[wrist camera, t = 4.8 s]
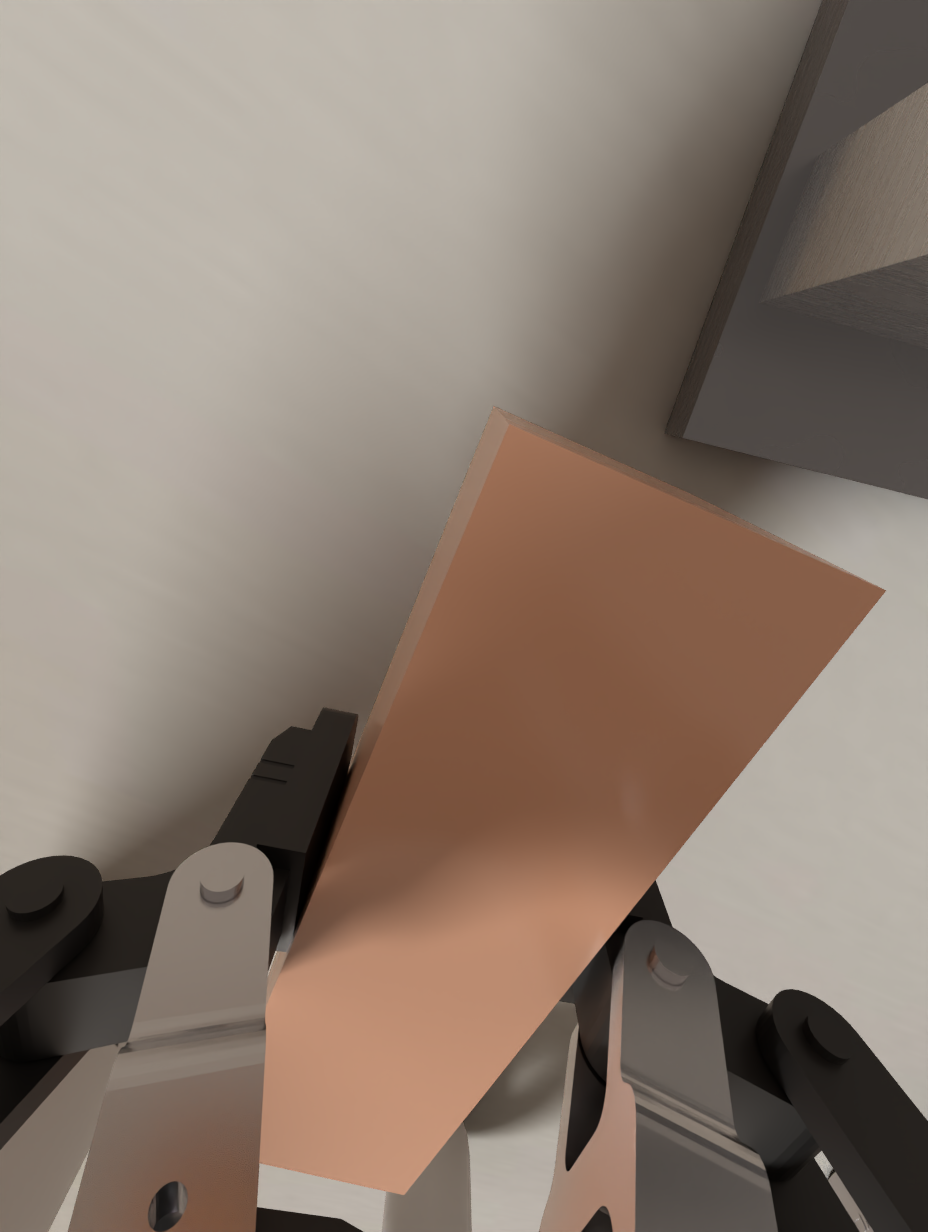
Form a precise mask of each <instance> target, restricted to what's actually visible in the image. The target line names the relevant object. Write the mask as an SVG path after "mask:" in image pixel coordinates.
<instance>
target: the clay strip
mask: <svg viewBox="0 0 928 1232" xmlns="http://www.w3.org/2000/svg"><path fill="white" fill-rule="evenodd" d="M885 591H886V590H884V589H882V588H880V587H878V586H876V585H874V584H872V583H870V582H868V581H866V580H864V579H862V578H860V577H858V576H856V575H854V574H852V573H850V572H848V571H846V570H844V569H842V568H840V567H838V566H836V565H834V564H832V563H830V562H828V561H826V560H824V559H822V558H820V557H818V556H815V555H813V554H811V553H809V552H807V551H805V550H803V549H801V548H799V547H797V546H795V545H793V544H791V543H789V542H787V541H785V540H783V539H781V538H779V537H777V536H775V535H773V534H771V533H769V532H767V531H765V530H763V529H761V528H759V527H757V526H755V525H753V524H751V523H749V522H747V521H745V520H743V519H741V518H739V517H737V516H735V515H733V514H731V513H729V512H727V511H725V510H723V509H721V508H719V507H717V506H715V505H713V504H711V503H709V502H707V501H705V500H703V499H701V498H699V497H696V496H694V495H692V494H690V493H688V492H686V491H684V490H681V489H679V488H677V487H675V486H672V485H670V484H668V483H666V482H663V481H661V480H659V479H657V478H654V477H652V476H650V475H648V474H645V473H643V472H641V471H639V470H636V469H634V468H632V467H630V466H627V465H625V464H623V463H621V462H618V461H616V460H614V459H612V458H609V457H607V456H605V455H603V454H600V453H598V452H596V451H594V450H591V449H589V448H587V447H585V446H582V445H580V444H578V443H576V442H573V441H571V440H569V439H567V438H564V437H562V436H560V435H558V434H555V433H553V432H551V431H549V430H546V429H544V428H542V427H540V426H538V425H535V424H533V423H531V422H529V421H526V420H524V419H522V418H520V417H517V416H515V415H513V414H511V413H508V412H506V411H504V410H502V409H499V408H497V407H495V406H493V409H492V411H491V414H490V416H489V419H488V421H487V424H486V426H485V429H484V431H483V434H482V436H481V439H480V441H479V444H478V446H477V449H476V451H475V454H474V456H473V459H472V461H471V464H470V466H469V469H468V471H467V474H466V476H465V479H464V481H463V484H462V486H461V489H460V491H459V494H458V496H457V499H456V501H455V504H454V506H453V509H452V511H451V514H450V516H449V519H448V521H447V524H446V526H445V529H444V531H443V534H442V536H441V539H440V541H439V544H438V546H437V549H436V551H435V554H434V556H433V558H432V561H431V563H430V566H429V568H428V571H427V573H426V576H425V578H424V581H423V583H422V586H421V588H420V591H419V593H418V596H417V598H416V601H415V603H414V606H413V608H412V611H411V613H410V616H409V618H408V621H407V623H406V626H405V628H404V631H403V633H402V636H401V638H400V641H399V643H398V646H397V648H396V651H395V653H394V656H393V658H392V661H391V663H390V666H389V668H388V671H387V673H386V676H385V678H384V681H383V683H382V686H381V688H380V691H379V693H378V696H377V698H376V701H375V703H374V706H373V708H372V711H371V713H370V716H369V718H368V721H367V723H366V726H365V728H364V731H363V733H362V736H361V738H360V741H359V743H358V746H357V748H356V751H355V753H354V756H353V758H352V761H351V763H350V766H349V771H348V775H347V778H346V781H345V784H344V787H343V790H342V793H341V796H340V799H339V802H338V805H337V808H336V811H335V813H334V816H333V819H332V822H331V825H330V828H329V831H328V834H327V837H326V840H325V843H324V846H323V849H322V852H321V855H320V858H319V861H318V864H317V867H316V870H315V873H314V876H313V879H312V882H311V885H310V888H309V891H308V894H307V896H306V899H305V902H304V905H303V908H302V911H301V914H300V917H299V920H298V923H297V926H296V929H295V932H294V935H293V938H292V940H291V942H290V945H289V947H288V950H287V952H281V951H277V953H276V955H275V958H274V961H273V964H272V967H271V969H270V972H269V975H268V978H267V994H266V1012H265V1024H266V1050H265V1069H264V1087H263V1105H262V1123H261V1141H260V1159H259V1163H261V1164H266V1165H270V1166H275V1167H279V1168H284V1169H288V1170H293V1171H297V1172H302V1173H306V1174H311V1175H315V1176H320V1177H324V1178H329V1179H333V1180H338V1181H342V1182H347V1183H351V1184H356V1185H360V1186H365V1187H369V1188H374V1189H378V1190H383V1191H387V1192H392V1193H396V1194H401V1195H405V1193H406V1192H407V1191H408V1190H409V1188H410V1187H411V1186H412V1185H413V1183H414V1182H415V1181H416V1180H417V1178H418V1177H419V1176H420V1175H421V1173H422V1172H423V1171H424V1170H425V1168H426V1167H427V1166H428V1165H429V1163H430V1162H431V1161H432V1160H433V1158H434V1157H435V1156H436V1155H437V1153H438V1152H439V1151H440V1149H441V1148H442V1147H443V1146H444V1144H445V1143H446V1142H447V1141H448V1139H449V1138H450V1137H451V1136H452V1134H453V1133H454V1132H455V1131H456V1129H457V1128H458V1127H459V1126H460V1124H461V1123H462V1122H463V1121H464V1119H465V1118H466V1117H467V1116H468V1114H469V1113H470V1112H471V1111H472V1109H473V1108H474V1107H475V1106H476V1104H477V1103H478V1102H479V1101H480V1099H481V1098H482V1097H483V1096H484V1094H485V1093H486V1092H487V1091H488V1089H489V1088H490V1087H491V1086H492V1084H493V1083H494V1082H495V1080H496V1079H497V1078H498V1077H499V1075H500V1074H501V1073H502V1072H503V1070H504V1069H505V1068H506V1067H507V1065H508V1064H509V1063H510V1062H511V1060H512V1059H513V1058H514V1057H515V1055H516V1054H517V1053H518V1052H519V1050H520V1049H521V1048H522V1047H523V1045H524V1044H525V1043H526V1042H527V1040H528V1039H529V1038H530V1037H531V1035H532V1034H533V1033H534V1032H535V1030H536V1029H537V1028H538V1027H539V1025H540V1024H541V1023H542V1022H543V1020H544V1019H545V1018H546V1017H547V1015H548V1014H549V1013H550V1012H551V1010H552V1009H553V1008H554V1006H555V1005H556V1004H557V1003H558V1001H559V1000H560V999H561V998H562V996H563V995H564V994H565V993H566V991H567V990H568V989H569V988H570V986H571V985H572V984H573V983H574V981H575V980H576V979H577V978H578V976H579V975H580V974H581V973H582V971H583V970H584V969H585V968H586V966H587V965H588V964H589V963H590V961H591V960H592V959H593V958H594V956H595V955H596V954H597V953H598V951H599V950H600V949H601V948H602V946H603V945H604V944H605V943H606V941H607V940H608V939H609V937H610V936H611V935H612V934H613V932H614V931H615V930H616V929H617V927H618V926H619V925H620V924H621V922H622V921H623V920H624V919H625V917H626V916H627V915H628V914H629V912H630V911H631V910H632V909H633V907H634V906H635V905H636V904H637V902H638V901H639V900H640V899H641V897H642V896H643V895H644V894H645V892H646V891H647V890H648V889H649V887H650V886H651V885H652V884H653V882H654V881H655V880H656V879H657V877H658V876H659V875H660V874H661V872H662V871H663V870H664V869H665V867H666V866H667V865H668V863H669V862H670V861H671V860H672V858H673V857H674V856H675V855H676V853H677V852H678V851H679V850H680V848H681V847H682V846H683V845H684V843H685V842H686V841H687V840H688V838H689V837H690V836H691V835H692V833H693V832H694V831H695V830H696V828H697V827H698V826H699V825H700V823H701V822H702V821H703V820H704V818H705V817H706V816H707V815H708V813H709V812H710V811H711V810H712V808H713V807H714V806H715V805H716V803H717V802H718V801H719V800H720V798H721V797H722V796H723V795H724V793H725V792H726V791H727V789H728V788H729V787H730V786H731V784H732V783H733V782H734V781H735V779H736V778H737V777H738V776H739V774H740V773H741V772H742V771H743V769H744V768H745V767H746V766H747V764H748V763H749V762H750V761H751V759H752V758H753V757H754V756H755V754H756V753H757V752H758V751H759V749H760V748H761V747H762V746H763V744H764V743H765V742H766V741H767V739H768V738H769V737H770V736H771V734H772V733H773V732H774V731H775V729H776V728H777V727H778V726H779V724H780V723H781V722H782V720H783V719H784V718H785V717H786V715H787V714H788V713H789V712H790V710H791V709H792V708H793V707H794V705H795V704H796V703H797V702H798V700H799V699H800V698H801V697H802V695H803V694H804V693H805V692H806V690H807V689H808V688H809V687H810V685H811V684H812V683H813V682H814V680H815V679H816V678H817V677H818V675H819V674H820V673H821V672H822V670H823V669H824V668H825V667H826V665H827V664H828V663H829V662H830V660H831V659H832V658H833V657H834V655H835V654H836V653H837V652H838V650H839V649H840V648H841V646H842V645H843V644H844V643H845V641H846V640H847V639H848V638H849V636H850V635H851V634H852V633H853V631H854V630H855V629H856V628H857V626H858V625H859V624H860V623H861V621H862V620H863V619H864V618H865V616H866V615H867V614H868V613H869V611H870V610H871V609H872V608H873V606H874V605H875V604H876V603H877V601H878V600H879V599H880V598H881V596H882V595H883V594H884V593H885Z"/></svg>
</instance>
